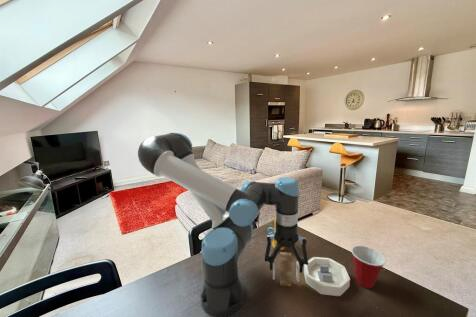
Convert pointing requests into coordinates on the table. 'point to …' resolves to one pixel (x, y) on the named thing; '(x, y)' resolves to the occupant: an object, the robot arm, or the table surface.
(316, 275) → the white octagonal tray
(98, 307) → the table surface
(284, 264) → the long cardboard-colored beam
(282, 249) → the yellow blue ringed piece
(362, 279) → the plastic cup
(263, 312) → the table surface
